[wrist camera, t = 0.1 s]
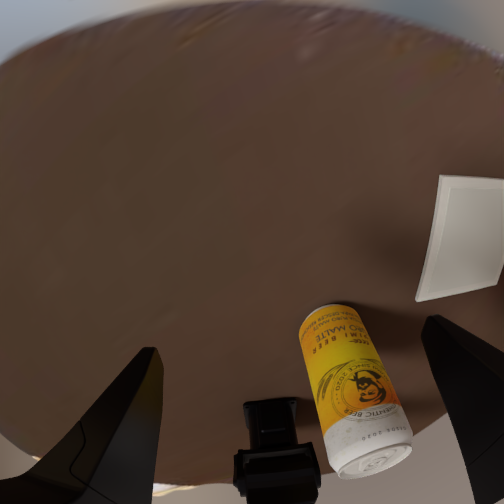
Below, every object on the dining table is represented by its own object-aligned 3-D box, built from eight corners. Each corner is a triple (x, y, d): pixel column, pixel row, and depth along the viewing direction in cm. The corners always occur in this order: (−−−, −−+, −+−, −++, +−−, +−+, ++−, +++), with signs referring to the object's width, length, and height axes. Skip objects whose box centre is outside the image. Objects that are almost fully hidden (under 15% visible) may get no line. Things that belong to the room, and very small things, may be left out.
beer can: (360, 295, 27) (430, 432, 14) (353, 340, 30) (402, 466, 17) (297, 304, 27) (339, 460, 14) (297, 350, 30) (327, 486, 17)
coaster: (494, 282, 28) (497, 285, 28) (415, 299, 28) (417, 302, 27) (520, 180, 22) (524, 182, 21) (439, 174, 22) (443, 176, 21)
